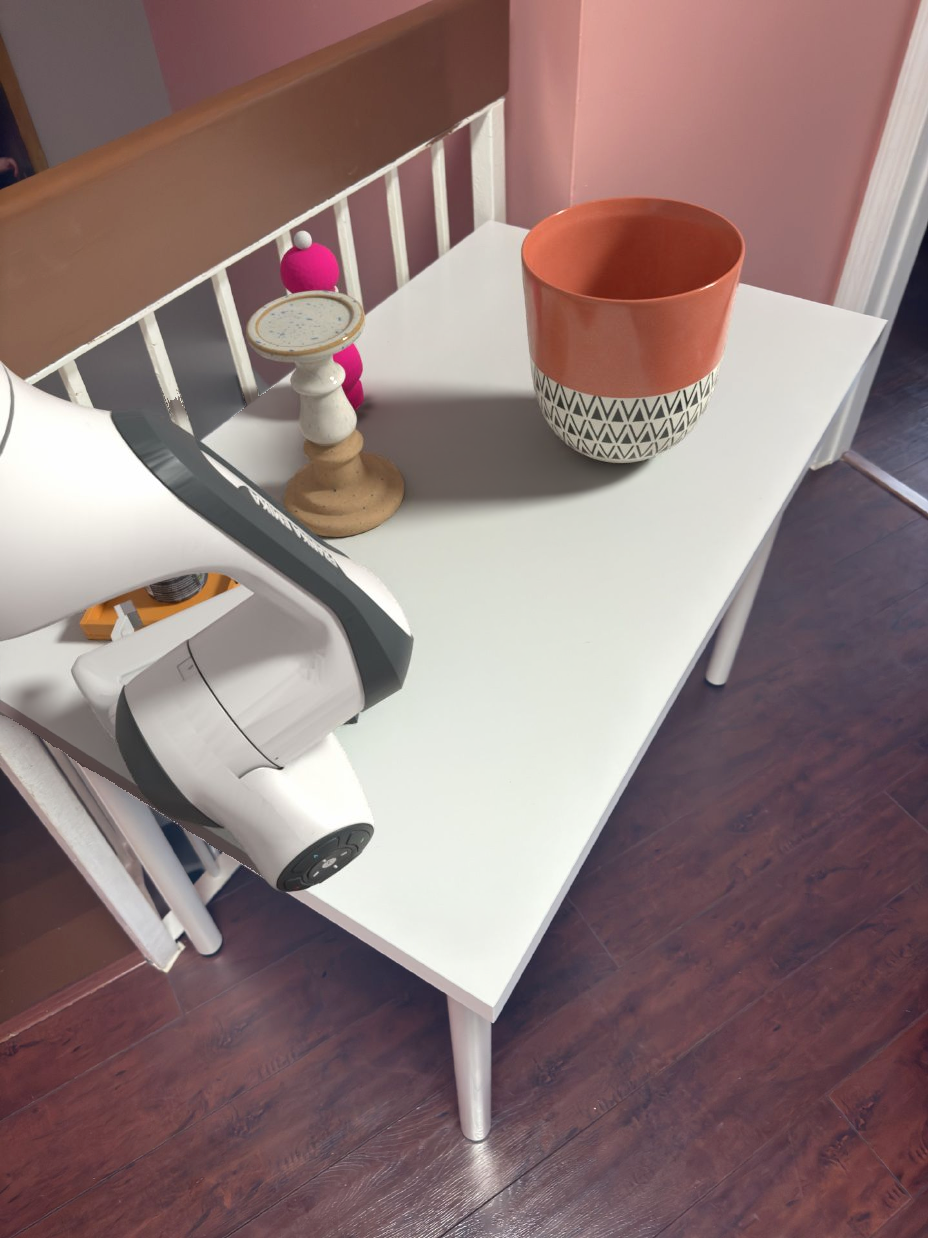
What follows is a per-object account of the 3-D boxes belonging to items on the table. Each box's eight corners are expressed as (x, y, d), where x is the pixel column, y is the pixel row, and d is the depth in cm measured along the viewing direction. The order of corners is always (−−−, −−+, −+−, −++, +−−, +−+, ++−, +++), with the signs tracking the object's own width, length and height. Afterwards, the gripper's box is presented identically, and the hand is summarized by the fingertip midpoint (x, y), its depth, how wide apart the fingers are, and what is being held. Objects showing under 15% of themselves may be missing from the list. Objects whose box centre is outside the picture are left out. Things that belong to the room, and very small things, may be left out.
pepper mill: (380, 392, 106) (351, 222, 91) (343, 426, 102) (306, 254, 87) (332, 377, 109) (296, 210, 94) (293, 409, 105) (249, 240, 90)
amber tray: (87, 639, 83) (78, 624, 82) (135, 539, 92) (127, 524, 90) (226, 641, 82) (220, 626, 80) (261, 540, 90) (256, 524, 89)
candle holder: (306, 457, 99) (261, 282, 84) (416, 463, 96) (390, 284, 82) (270, 534, 91) (212, 356, 76) (389, 542, 89) (353, 361, 74)
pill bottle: (169, 555, 89) (128, 464, 81) (221, 567, 87) (185, 475, 79) (134, 598, 85) (87, 507, 77) (187, 612, 84) (146, 520, 75)
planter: (496, 474, 94) (483, 278, 78) (569, 373, 105) (571, 184, 89) (679, 522, 87) (705, 318, 71) (737, 409, 98) (771, 211, 82)
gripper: (359, 607, 68) (287, 506, 76) (89, 733, 62) (43, 609, 70) (372, 661, 72) (302, 560, 81) (122, 783, 66) (75, 661, 75)
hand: (180, 584), depth 75 cm, fingers open, 8 cm apart
